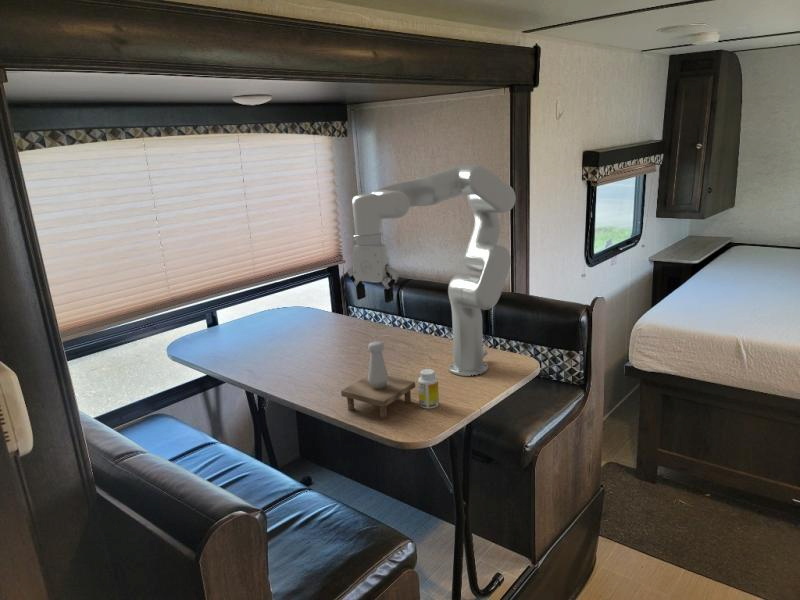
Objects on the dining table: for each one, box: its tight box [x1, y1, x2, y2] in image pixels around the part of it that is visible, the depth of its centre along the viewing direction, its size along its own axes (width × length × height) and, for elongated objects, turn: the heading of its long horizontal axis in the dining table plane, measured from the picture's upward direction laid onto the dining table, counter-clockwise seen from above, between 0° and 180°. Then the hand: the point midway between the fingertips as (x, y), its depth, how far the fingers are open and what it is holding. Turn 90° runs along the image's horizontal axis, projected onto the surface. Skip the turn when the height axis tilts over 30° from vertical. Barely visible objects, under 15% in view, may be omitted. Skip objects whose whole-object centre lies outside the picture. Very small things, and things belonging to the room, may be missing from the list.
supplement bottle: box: [417, 368, 440, 410], centre depth 161 cm, size 6×6×10 cm
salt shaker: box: [367, 341, 389, 389], centre depth 161 cm, size 6×6×13 cm
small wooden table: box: [340, 375, 416, 421], centre depth 163 cm, size 15×15×6 cm
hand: (375, 299), depth 161 cm, fingers open, 9 cm apart
